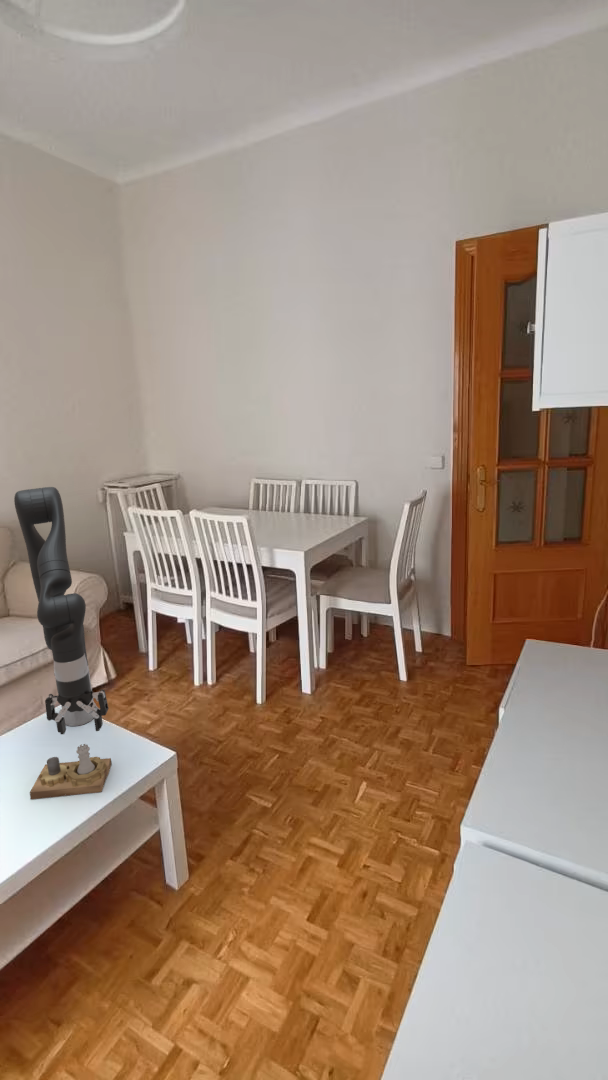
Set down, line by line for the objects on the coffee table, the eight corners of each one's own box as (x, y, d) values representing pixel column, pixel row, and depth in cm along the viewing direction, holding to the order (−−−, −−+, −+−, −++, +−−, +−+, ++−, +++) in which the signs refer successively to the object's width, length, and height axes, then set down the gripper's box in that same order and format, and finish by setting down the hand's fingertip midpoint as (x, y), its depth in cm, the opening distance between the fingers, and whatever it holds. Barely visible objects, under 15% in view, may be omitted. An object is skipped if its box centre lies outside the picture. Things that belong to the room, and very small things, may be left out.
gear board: (46, 770, 147) (42, 747, 145) (112, 764, 148) (109, 741, 147) (30, 799, 136) (26, 774, 134) (101, 792, 138) (98, 767, 136)
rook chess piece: (89, 780, 139) (85, 752, 137) (73, 778, 140) (69, 751, 138) (99, 769, 143) (95, 742, 141) (84, 767, 144) (79, 740, 142)
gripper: (105, 663, 139) (113, 720, 143) (46, 668, 138) (56, 725, 142) (97, 678, 132) (106, 737, 136) (35, 683, 130) (46, 742, 135)
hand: (80, 730), depth 139 cm, fingers open, 8 cm apart
